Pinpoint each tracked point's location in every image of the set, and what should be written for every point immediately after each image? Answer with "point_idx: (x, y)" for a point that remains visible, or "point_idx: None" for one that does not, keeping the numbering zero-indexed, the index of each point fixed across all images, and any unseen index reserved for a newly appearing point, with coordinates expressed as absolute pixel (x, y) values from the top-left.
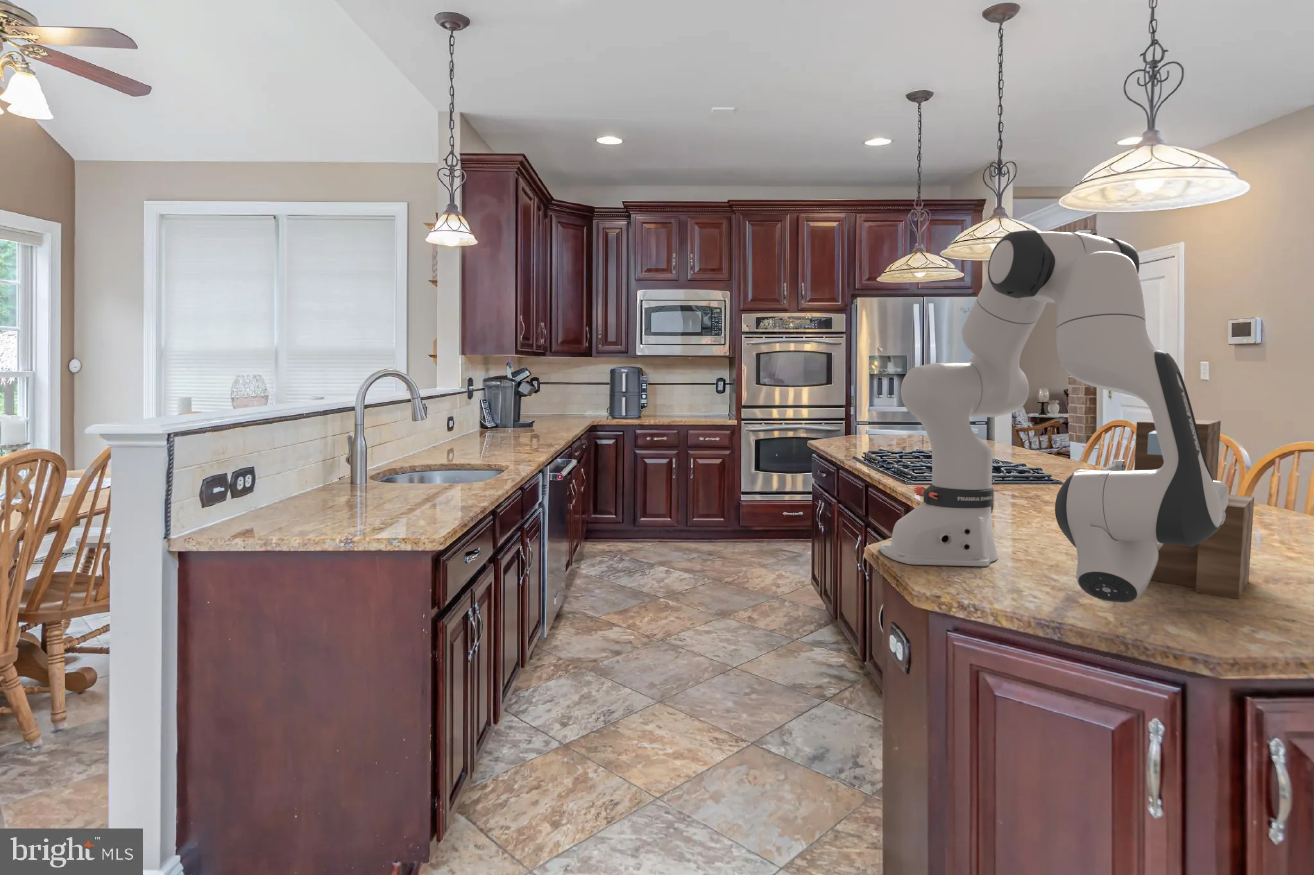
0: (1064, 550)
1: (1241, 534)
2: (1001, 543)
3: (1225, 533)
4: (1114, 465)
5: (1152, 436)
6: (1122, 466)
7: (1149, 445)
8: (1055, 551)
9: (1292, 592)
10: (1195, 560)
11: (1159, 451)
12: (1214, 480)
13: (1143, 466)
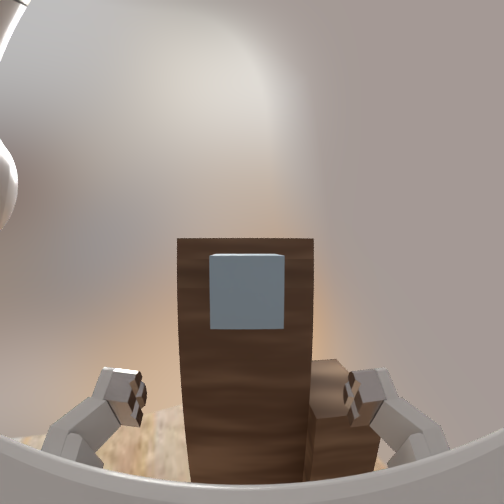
0: (111, 445)
1: (375, 454)
2: (39, 437)
3: (353, 460)
4: (101, 402)
5: (222, 266)
6: (133, 402)
7: (215, 298)
8: (99, 451)
9: (374, 466)
10: None
11: (244, 317)
12: (500, 431)
13: (196, 344)
